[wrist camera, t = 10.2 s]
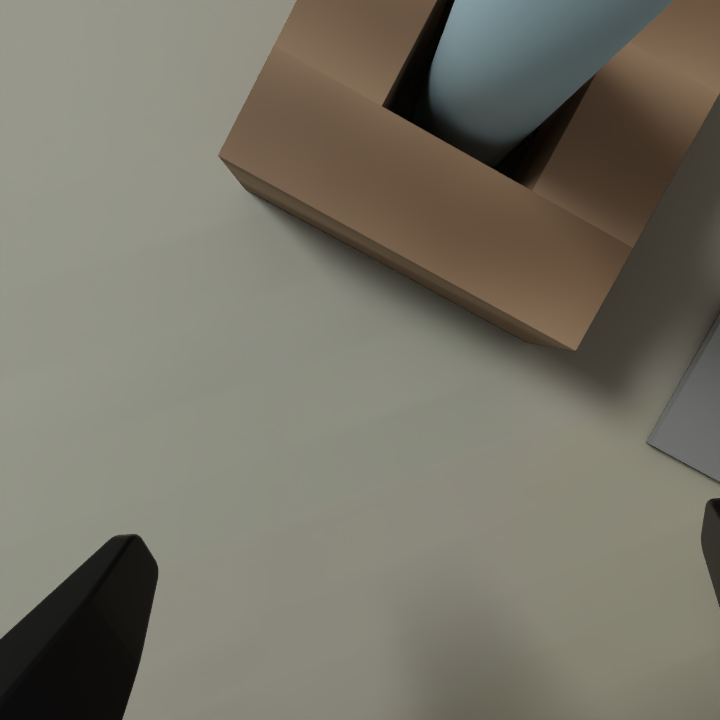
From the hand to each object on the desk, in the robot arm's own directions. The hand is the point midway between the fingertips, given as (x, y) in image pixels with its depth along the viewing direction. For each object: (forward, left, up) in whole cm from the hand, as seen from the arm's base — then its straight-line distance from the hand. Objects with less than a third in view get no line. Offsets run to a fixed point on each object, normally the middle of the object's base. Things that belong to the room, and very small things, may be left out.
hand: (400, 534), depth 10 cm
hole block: (+10, +2, -10) cm, 14 cm away
